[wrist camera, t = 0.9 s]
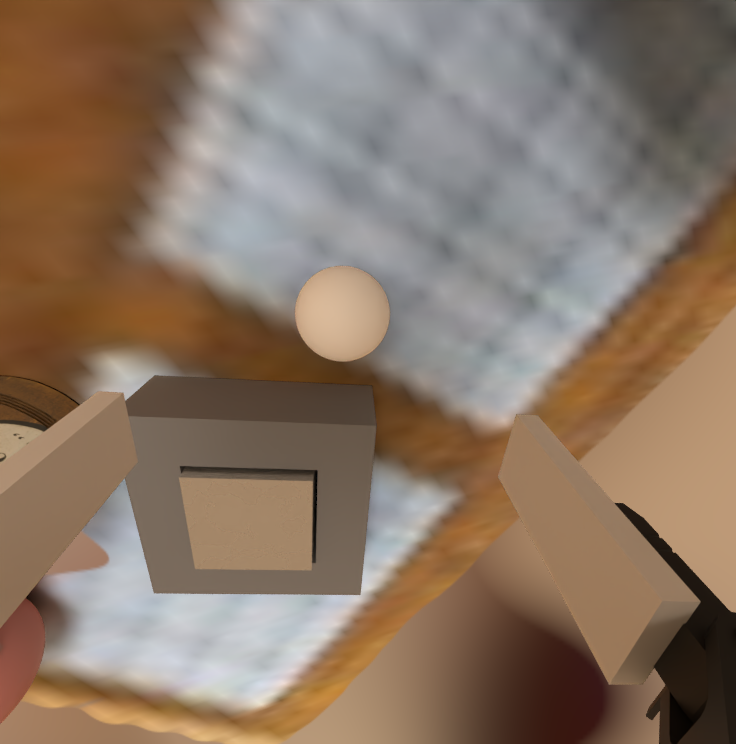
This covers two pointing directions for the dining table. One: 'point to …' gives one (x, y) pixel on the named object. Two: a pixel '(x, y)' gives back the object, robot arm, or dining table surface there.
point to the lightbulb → (342, 313)
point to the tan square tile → (250, 517)
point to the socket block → (252, 450)
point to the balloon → (19, 655)
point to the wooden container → (27, 412)
